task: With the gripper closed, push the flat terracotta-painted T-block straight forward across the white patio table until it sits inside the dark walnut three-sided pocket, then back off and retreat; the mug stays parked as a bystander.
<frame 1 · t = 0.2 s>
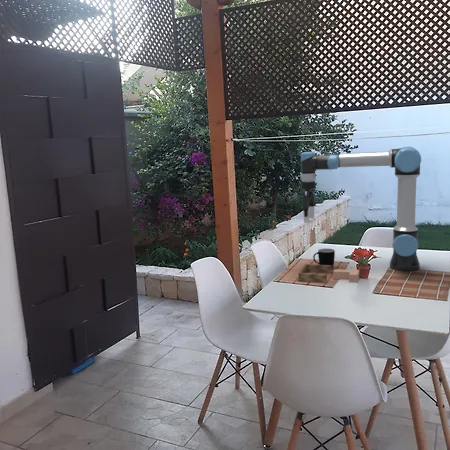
hand: (309, 220, 253), 28 cm above the table, fingers open, 13 cm apart
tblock: (346, 278, 239), on the table
mug: (323, 268, 260), on the table
pocket: (316, 276, 244), on the table
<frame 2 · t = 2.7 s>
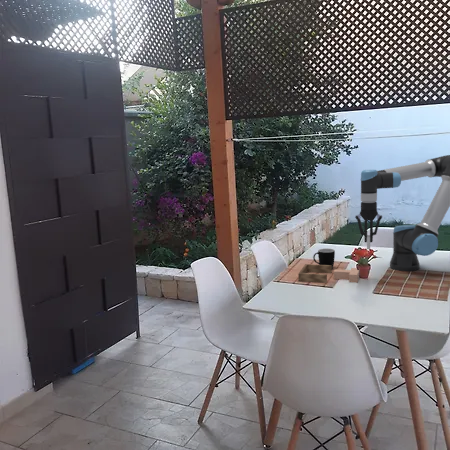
hand: (368, 248, 232), 16 cm above the table, fingers closed
nothing on the table moved.
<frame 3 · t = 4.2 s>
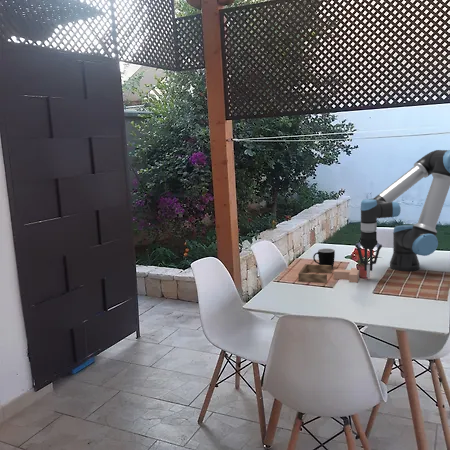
hand: (368, 276, 235), 1 cm above the table, fingers closed
nothing on the table moved.
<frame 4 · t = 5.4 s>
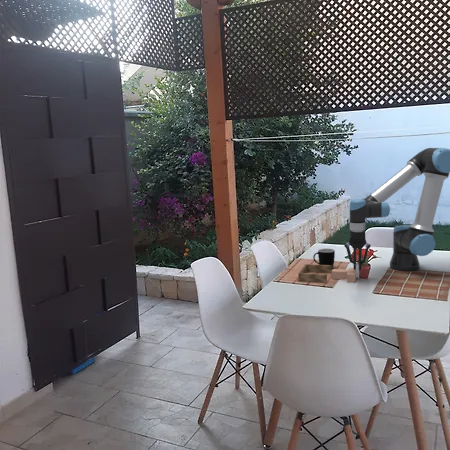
hand: (357, 276, 236), 2 cm above the table, fingers closed
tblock: (344, 278, 239), on the table, touching gripper
everything else where it was.
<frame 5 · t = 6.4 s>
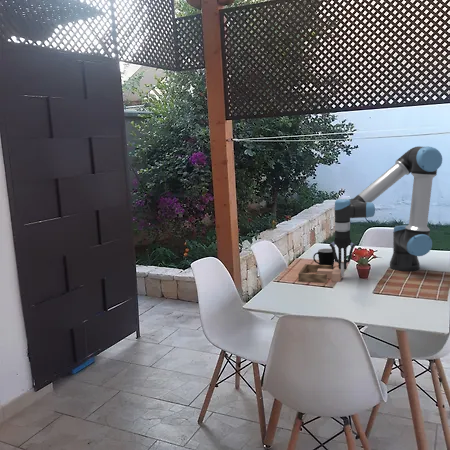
hand: (342, 275, 239), 2 cm above the table, fingers closed
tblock: (329, 277, 242), on the table, touching gripper
everything else where it was.
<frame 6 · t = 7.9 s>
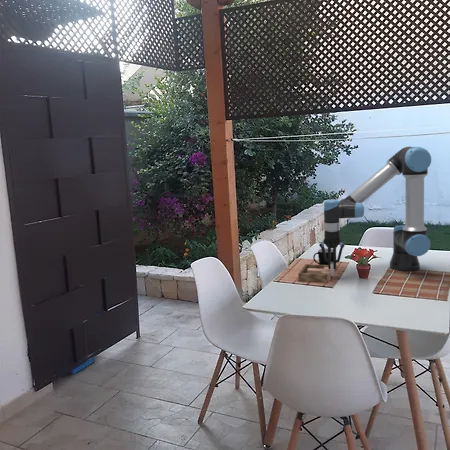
hand: (332, 275, 241), 1 cm above the table, fingers closed
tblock: (319, 277, 244), on the table, touching gripper
everything else where it was.
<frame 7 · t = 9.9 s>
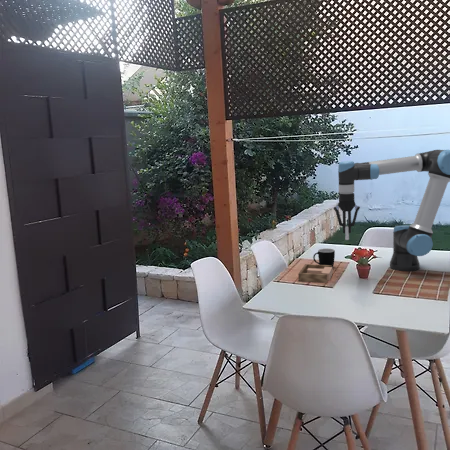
hand: (347, 239, 236), 20 cm above the table, fingers closed
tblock: (319, 277, 244), on the table
everything else where it was.
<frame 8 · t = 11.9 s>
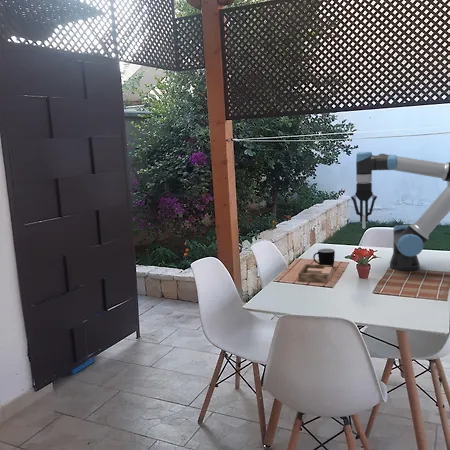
hand: (363, 228, 241), 24 cm above the table, fingers closed
nothing on the table moved.
at the end: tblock inside the target area on the pocket (0.1 cm from its centre), point 0.0 cm above the pocket's base; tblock moved 13.7 cm from its start; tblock tilted 0° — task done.
